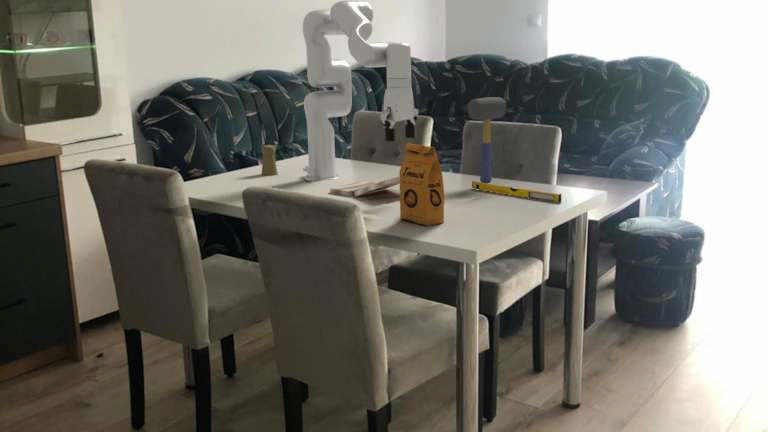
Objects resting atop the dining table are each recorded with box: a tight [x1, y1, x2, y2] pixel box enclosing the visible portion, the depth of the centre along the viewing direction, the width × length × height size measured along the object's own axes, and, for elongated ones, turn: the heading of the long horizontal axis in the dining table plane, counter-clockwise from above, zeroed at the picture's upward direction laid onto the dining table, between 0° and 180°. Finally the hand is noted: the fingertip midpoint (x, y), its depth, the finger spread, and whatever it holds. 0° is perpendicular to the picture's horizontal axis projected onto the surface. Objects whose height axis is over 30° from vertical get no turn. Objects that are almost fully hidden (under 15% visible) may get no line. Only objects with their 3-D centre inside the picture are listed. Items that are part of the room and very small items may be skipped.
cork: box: [261, 144, 278, 177], centre depth 308 cm, size 6×6×11 cm
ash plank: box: [354, 176, 400, 196], centre depth 264 cm, size 14×15×2 cm
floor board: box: [329, 180, 400, 204], centre depth 268 cm, size 26×17×3 cm, turn 49°
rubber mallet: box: [467, 96, 507, 184], centre depth 282 cm, size 12×8×30 cm, turn 122°
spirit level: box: [471, 180, 562, 204], centre depth 267 cm, size 33×1×3 cm, turn 48°
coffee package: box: [399, 142, 445, 227], centre depth 232 cm, size 10×12×22 cm
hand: (400, 139), depth 256 cm, fingers open, 9 cm apart
